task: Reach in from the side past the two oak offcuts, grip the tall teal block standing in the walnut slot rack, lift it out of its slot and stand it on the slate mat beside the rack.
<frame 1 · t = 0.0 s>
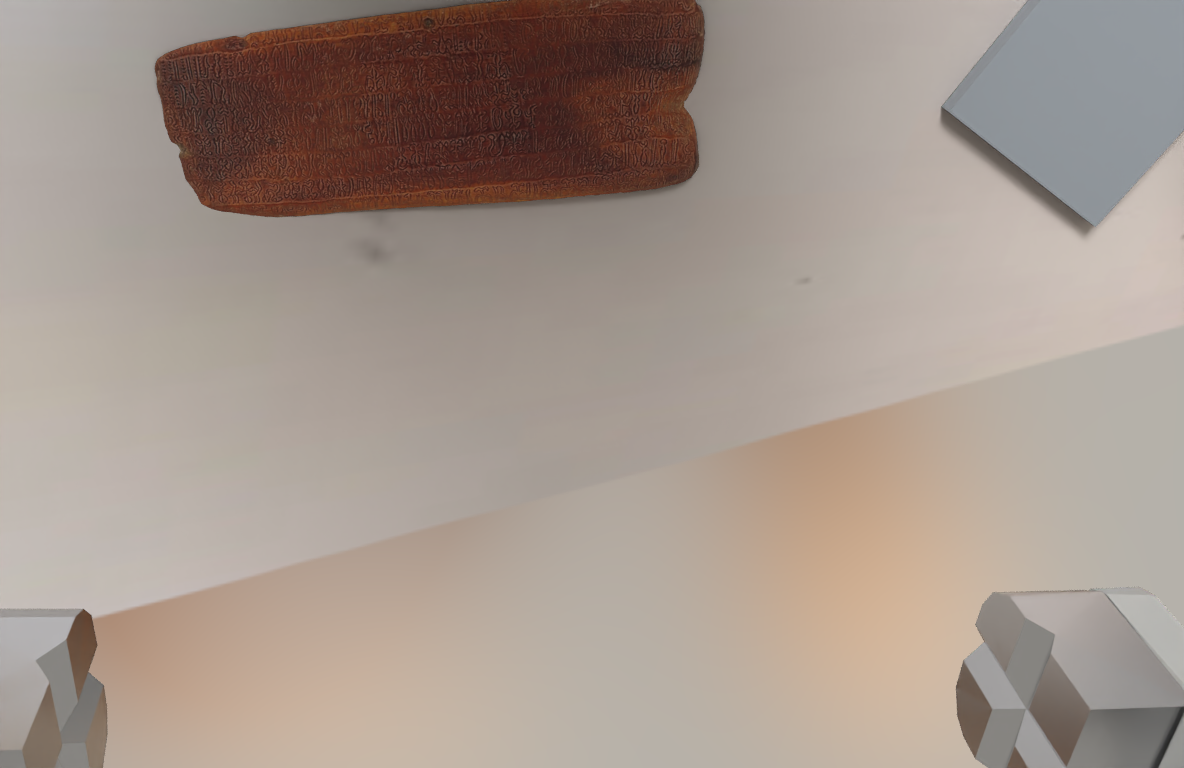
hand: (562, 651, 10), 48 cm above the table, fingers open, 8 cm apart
slate mat: (1095, 74, 59), on the table
wooden tablet: (440, 103, 56), on the table
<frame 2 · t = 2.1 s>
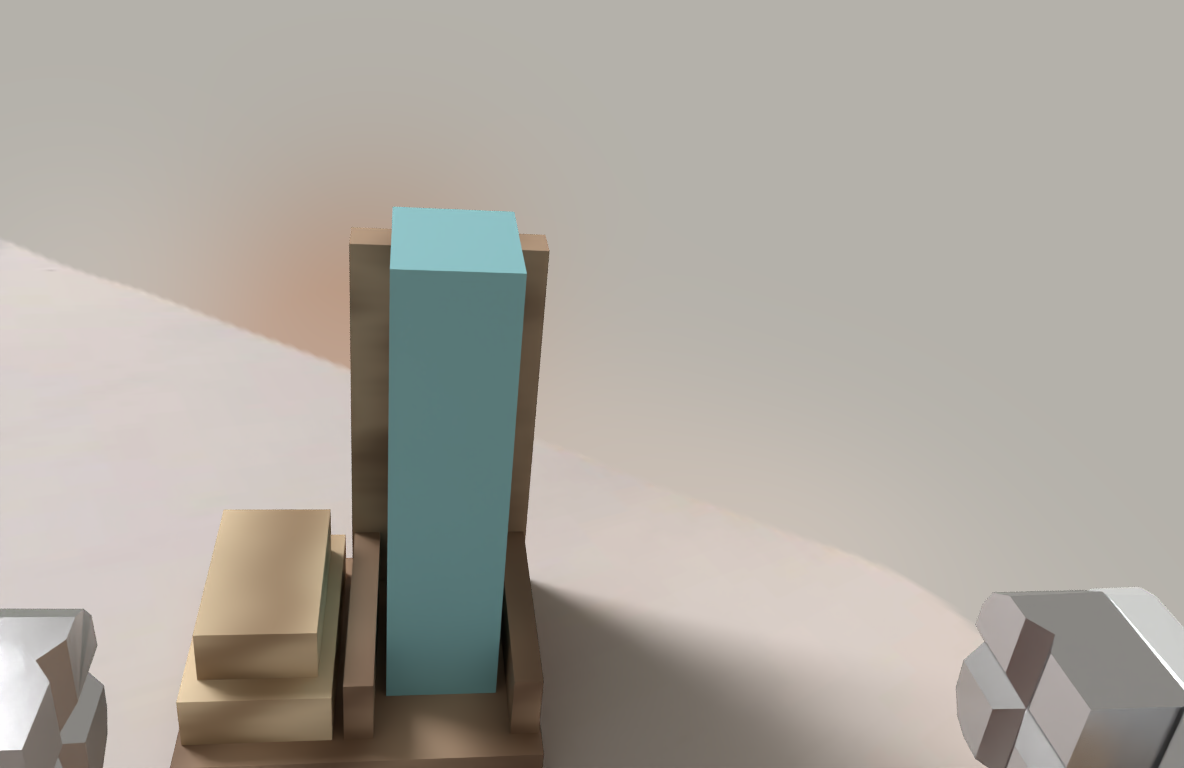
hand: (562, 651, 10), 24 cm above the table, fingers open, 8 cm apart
lower oak offcut: (272, 650, 42), point 1 cm above the table, touching upper oak offcut, walnut rack
upper oak offcut: (269, 609, 41), point 3 cm above the table, touching lower oak offcut
walnut rack: (439, 666, 44), on the table
tall teal block: (440, 646, 43), point 1 cm above the table, touching walnut rack
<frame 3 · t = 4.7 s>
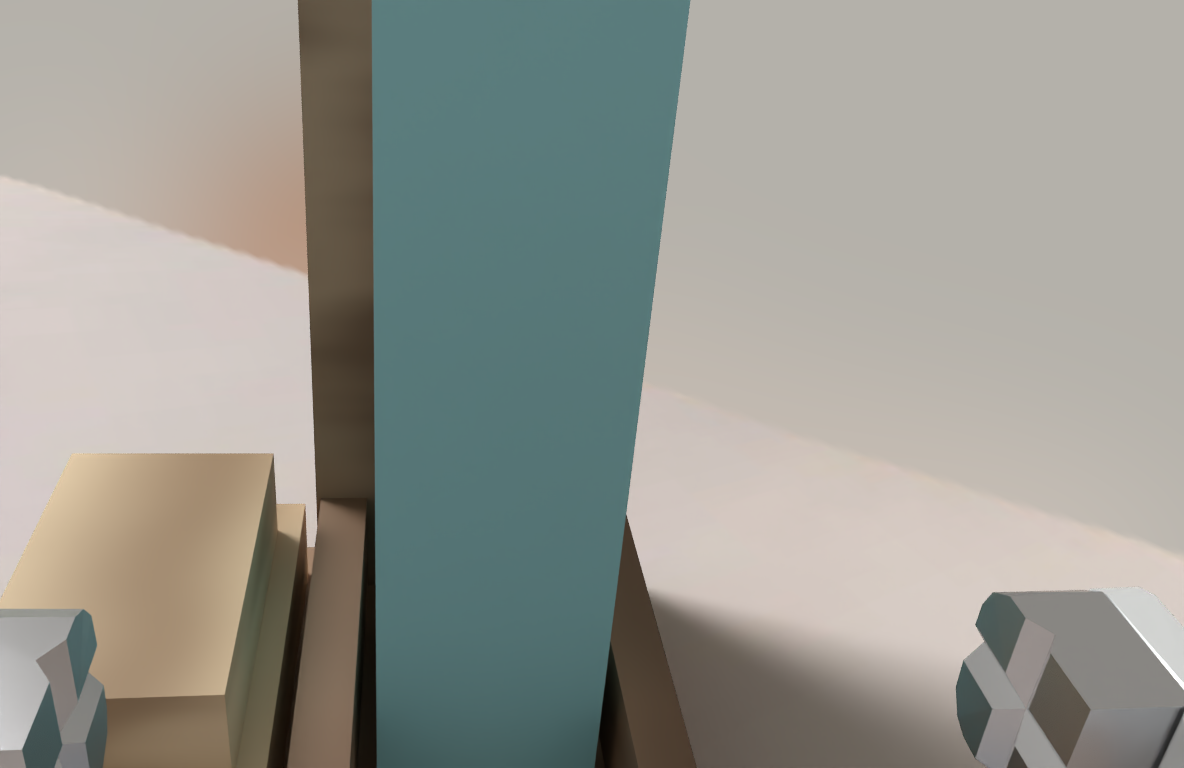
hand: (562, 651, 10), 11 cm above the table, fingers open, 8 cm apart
lower oak offcut: (159, 719, 22), point 1 cm above the table, touching upper oak offcut, walnut rack
upper oak offcut: (149, 642, 21), point 3 cm above the table, touching lower oak offcut
walnut rack: (476, 742, 24), on the table
tall teal block: (478, 707, 23), point 1 cm above the table, touching walnut rack
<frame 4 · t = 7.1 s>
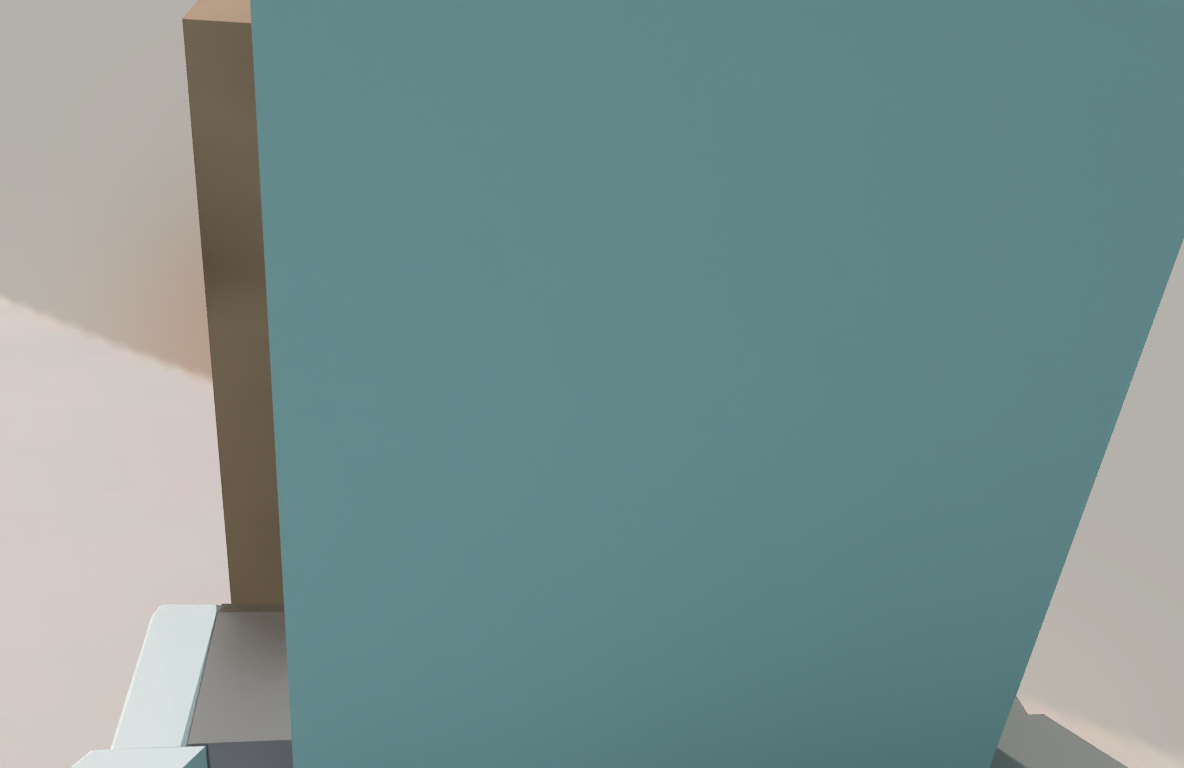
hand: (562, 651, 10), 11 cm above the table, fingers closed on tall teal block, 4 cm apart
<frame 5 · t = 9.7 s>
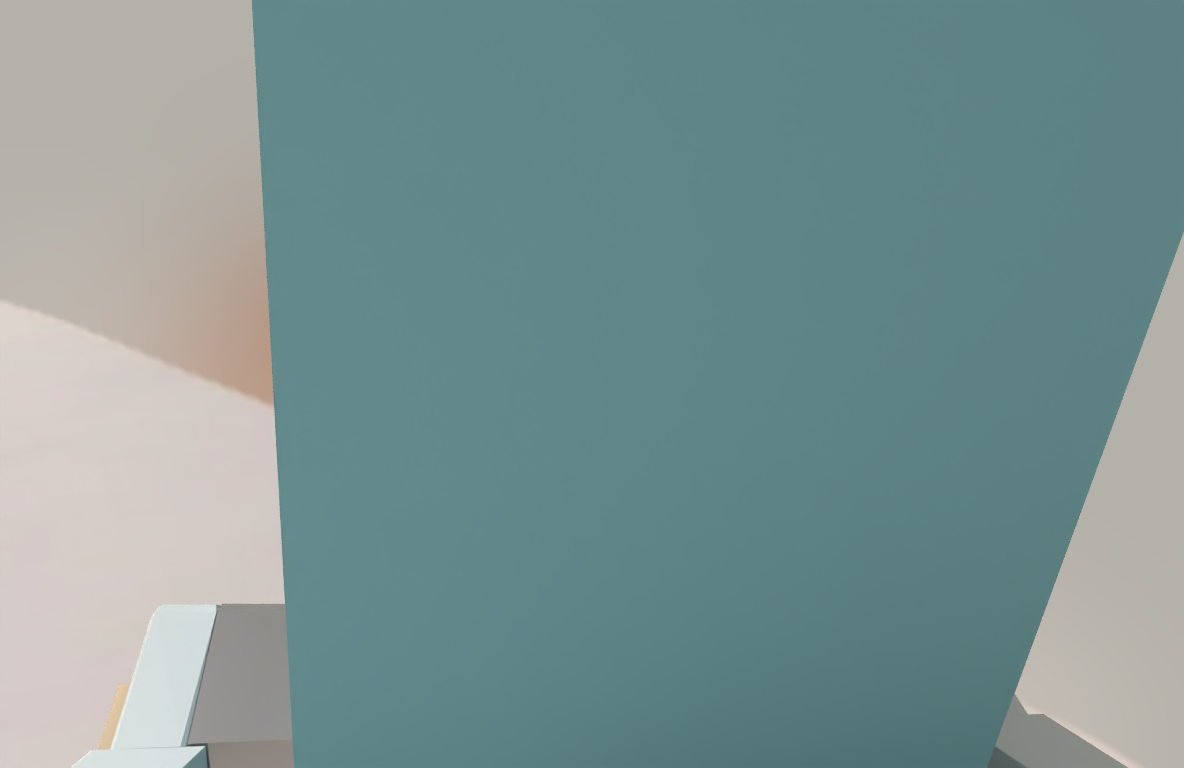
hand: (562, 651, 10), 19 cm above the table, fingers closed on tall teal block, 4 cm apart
when the fingers open (13 cm above the table, at t = 12.1 s): tall teal block drops 1 cm, resting on slate mat.
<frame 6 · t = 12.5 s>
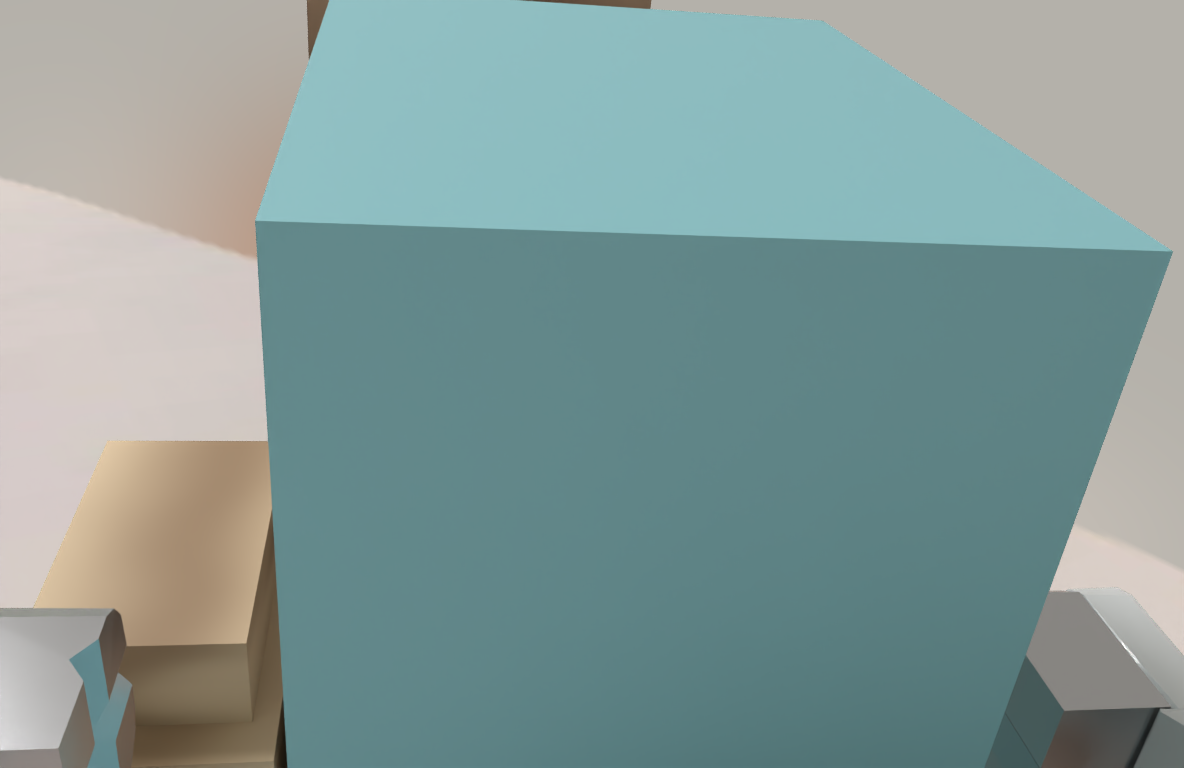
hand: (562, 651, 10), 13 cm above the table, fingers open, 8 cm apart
lower oak offcut: (185, 673, 25), point 1 cm above the table, touching upper oak offcut, walnut rack
upper oak offcut: (177, 604, 24), point 3 cm above the table, touching lower oak offcut
walnut rack: (464, 696, 27), on the table
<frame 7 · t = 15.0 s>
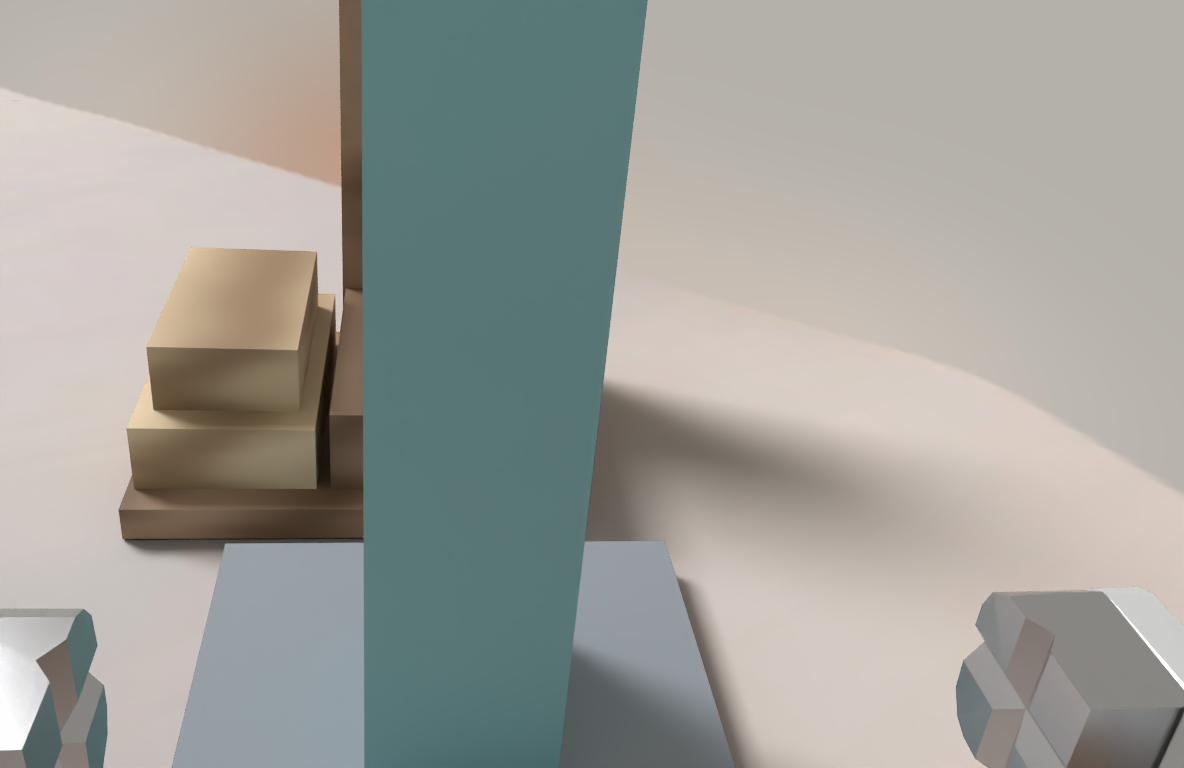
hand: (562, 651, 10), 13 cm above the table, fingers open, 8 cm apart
slate mat: (457, 734, 26), on the table
lower oak offcut: (247, 408, 36), point 1 cm above the table, touching upper oak offcut, walnut rack
upper oak offcut: (243, 352, 35), point 3 cm above the table, touching lower oak offcut
walnut rack: (444, 436, 37), on the table
tall teal block: (457, 703, 26), point 1 cm above the table, touching slate mat
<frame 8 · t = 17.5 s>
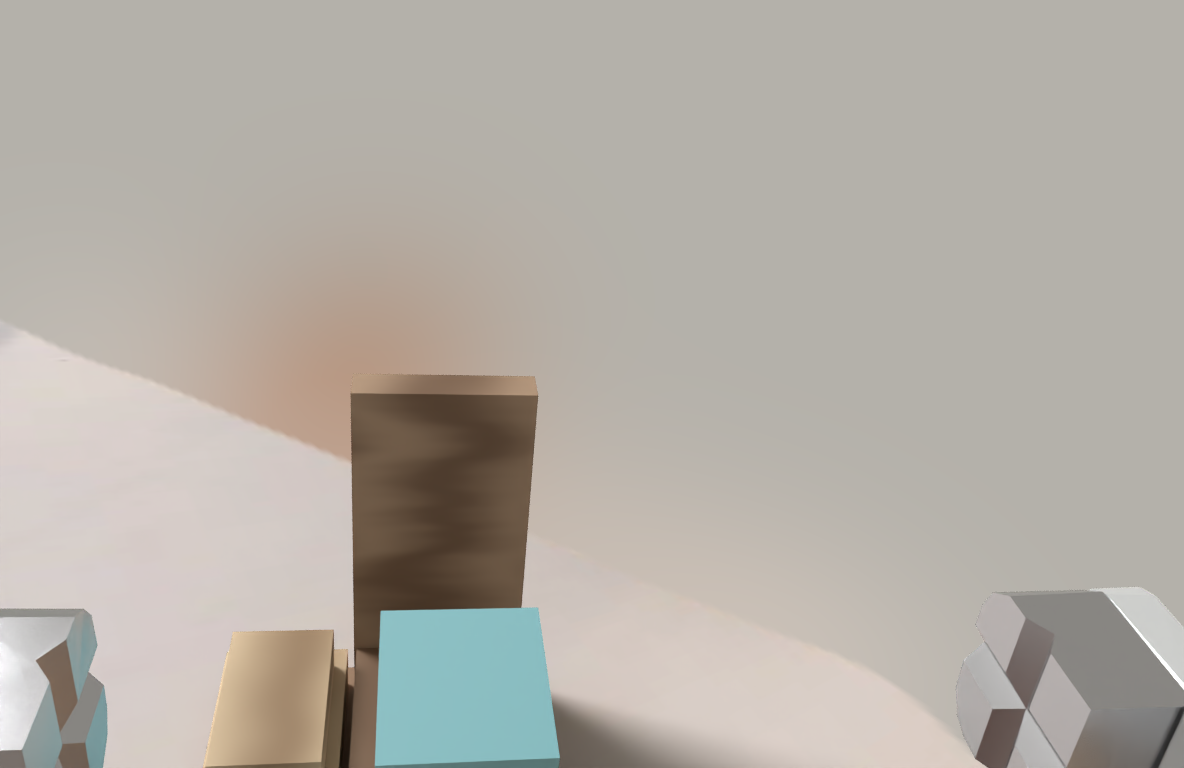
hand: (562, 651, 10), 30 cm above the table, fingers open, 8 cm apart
lower oak offcut: (278, 766, 45), point 1 cm above the table, touching upper oak offcut, walnut rack
upper oak offcut: (276, 730, 44), point 3 cm above the table, touching lower oak offcut
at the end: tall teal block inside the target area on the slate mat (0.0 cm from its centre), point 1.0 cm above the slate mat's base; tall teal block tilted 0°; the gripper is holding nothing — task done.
